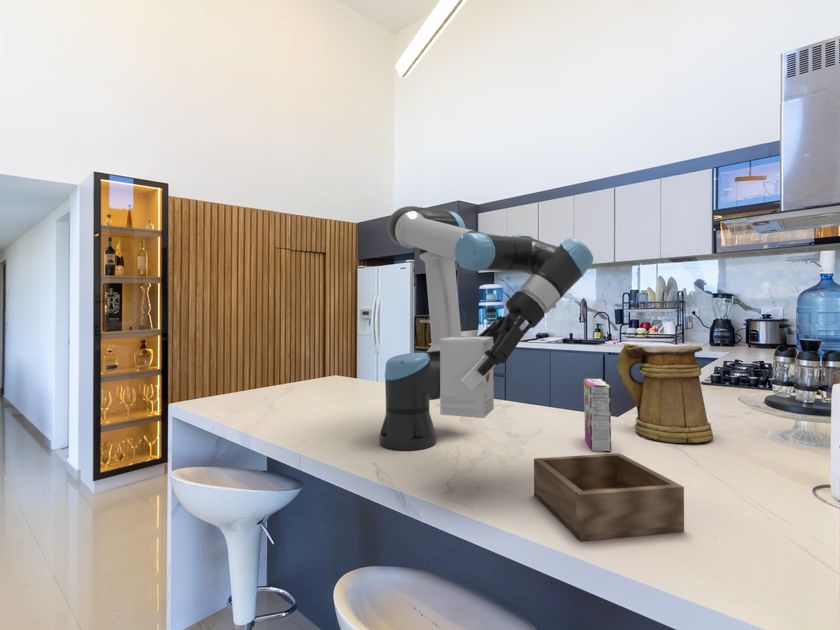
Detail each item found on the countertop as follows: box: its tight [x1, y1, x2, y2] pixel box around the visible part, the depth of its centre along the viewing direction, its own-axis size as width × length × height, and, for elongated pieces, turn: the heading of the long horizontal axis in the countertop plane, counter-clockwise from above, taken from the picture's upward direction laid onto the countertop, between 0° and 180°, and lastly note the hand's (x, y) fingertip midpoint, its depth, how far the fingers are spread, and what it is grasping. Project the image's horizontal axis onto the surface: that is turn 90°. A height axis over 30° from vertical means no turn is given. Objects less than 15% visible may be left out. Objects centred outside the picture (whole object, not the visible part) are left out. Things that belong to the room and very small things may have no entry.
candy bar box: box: [583, 378, 612, 453], centre depth 118 cm, size 11×5×16 cm, turn 168°
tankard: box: [616, 343, 714, 444], centre depth 127 cm, size 18×24×25 cm
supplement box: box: [439, 335, 495, 419], centre depth 91 cm, size 9×9×15 cm
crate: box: [533, 452, 685, 542], centre depth 79 cm, size 17×17×7 cm
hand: (458, 380), depth 91 cm, fingers closed on supplement box, 12 cm apart
